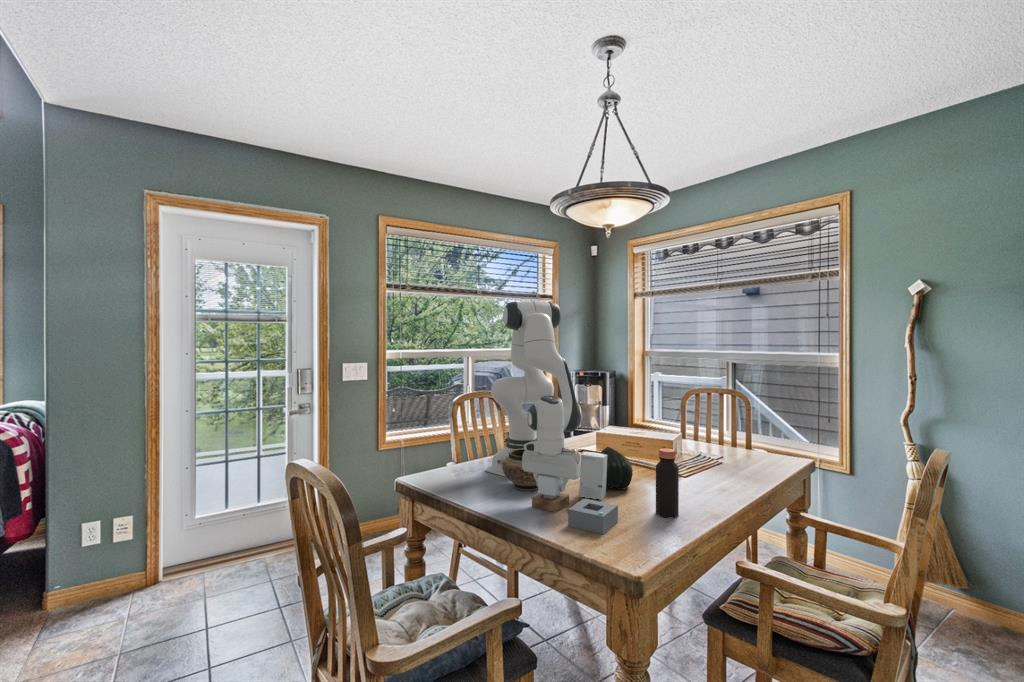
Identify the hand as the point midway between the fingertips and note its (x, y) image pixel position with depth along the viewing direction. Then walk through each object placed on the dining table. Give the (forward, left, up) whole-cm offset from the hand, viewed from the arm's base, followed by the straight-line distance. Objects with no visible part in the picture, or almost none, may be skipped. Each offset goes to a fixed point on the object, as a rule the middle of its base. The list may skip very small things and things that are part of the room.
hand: (550, 488), depth 160 cm
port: (+18, -7, -6) cm, 20 cm away
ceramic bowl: (-17, +13, -6) cm, 22 cm away
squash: (+9, +30, -6) cm, 32 cm away
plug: (0, 0, -6) cm, 6 cm away
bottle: (+34, +13, -6) cm, 37 cm away
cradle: (0, 0, -6) cm, 6 cm away
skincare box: (+8, +16, -6) cm, 19 cm away
